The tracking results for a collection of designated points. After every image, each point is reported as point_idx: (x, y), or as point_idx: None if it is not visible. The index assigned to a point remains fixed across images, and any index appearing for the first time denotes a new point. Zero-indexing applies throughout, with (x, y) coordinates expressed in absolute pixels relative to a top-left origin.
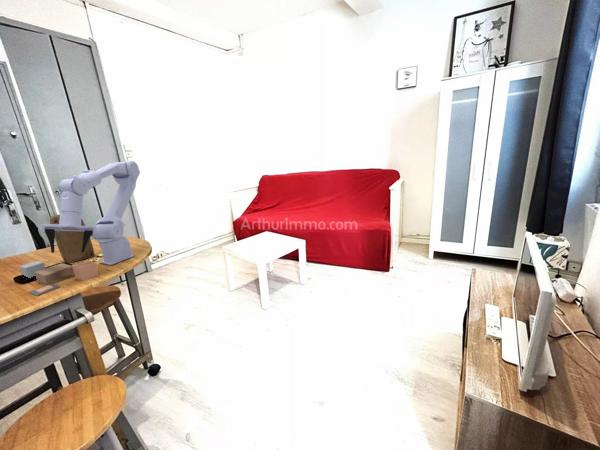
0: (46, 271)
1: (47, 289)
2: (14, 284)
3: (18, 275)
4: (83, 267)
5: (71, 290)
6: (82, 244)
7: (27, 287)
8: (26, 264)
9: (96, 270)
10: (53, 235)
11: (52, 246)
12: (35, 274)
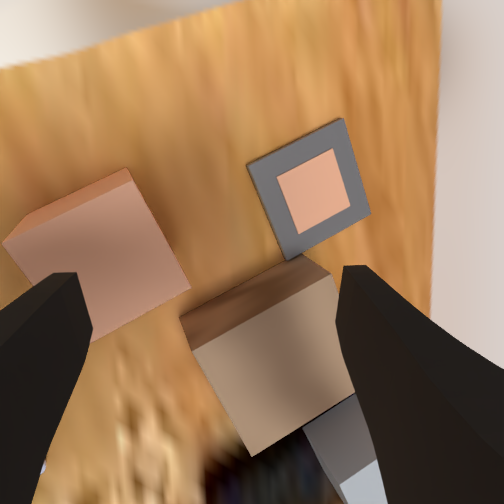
0: (321, 351)
1: (302, 163)
2: None
3: None
4: (102, 193)
5: (185, 32)
6: (48, 410)
7: None
8: None
9: (27, 218)
10: (490, 423)
11: (389, 298)
12: None
